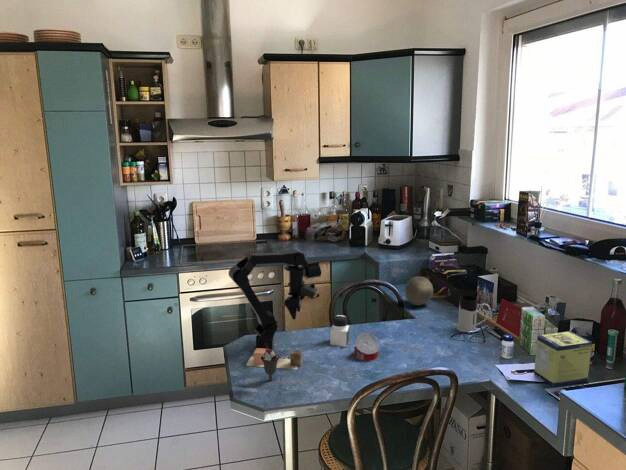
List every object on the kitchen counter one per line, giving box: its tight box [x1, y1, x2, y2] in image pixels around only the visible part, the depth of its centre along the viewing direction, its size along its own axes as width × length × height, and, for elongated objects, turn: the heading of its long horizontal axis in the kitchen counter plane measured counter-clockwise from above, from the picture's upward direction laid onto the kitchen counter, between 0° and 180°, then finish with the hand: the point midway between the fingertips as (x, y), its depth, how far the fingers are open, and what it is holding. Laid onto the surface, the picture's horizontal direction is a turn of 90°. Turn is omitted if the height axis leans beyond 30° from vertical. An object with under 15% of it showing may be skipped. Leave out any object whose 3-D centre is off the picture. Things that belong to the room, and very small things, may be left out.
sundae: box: [261, 344, 280, 382], centre depth 184 cm, size 7×7×15 cm
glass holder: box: [456, 294, 491, 333], centre depth 232 cm, size 9×14×15 cm, turn 54°
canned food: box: [353, 331, 380, 362], centre depth 208 cm, size 11×10×10 cm
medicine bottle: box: [329, 314, 350, 348], centre depth 219 cm, size 7×7×12 cm
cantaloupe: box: [404, 276, 434, 306], centre depth 265 cm, size 14×14×15 cm
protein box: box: [533, 331, 593, 387], centre depth 188 cm, size 10×16×16 cm
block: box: [253, 348, 266, 365], centre depth 200 cm, size 4×4×4 cm
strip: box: [245, 349, 303, 370], centre depth 199 cm, size 21×8×6 cm, turn 81°
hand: (296, 315), depth 216 cm, fingers open, 9 cm apart
